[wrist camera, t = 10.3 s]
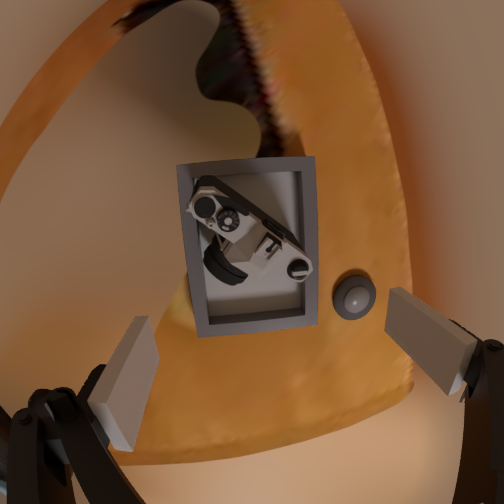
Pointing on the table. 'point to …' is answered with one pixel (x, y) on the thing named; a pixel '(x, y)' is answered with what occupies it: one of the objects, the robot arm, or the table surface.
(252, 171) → the case tray
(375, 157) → the table surface
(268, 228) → the camera
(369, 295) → the lens cap
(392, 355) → the table surface
